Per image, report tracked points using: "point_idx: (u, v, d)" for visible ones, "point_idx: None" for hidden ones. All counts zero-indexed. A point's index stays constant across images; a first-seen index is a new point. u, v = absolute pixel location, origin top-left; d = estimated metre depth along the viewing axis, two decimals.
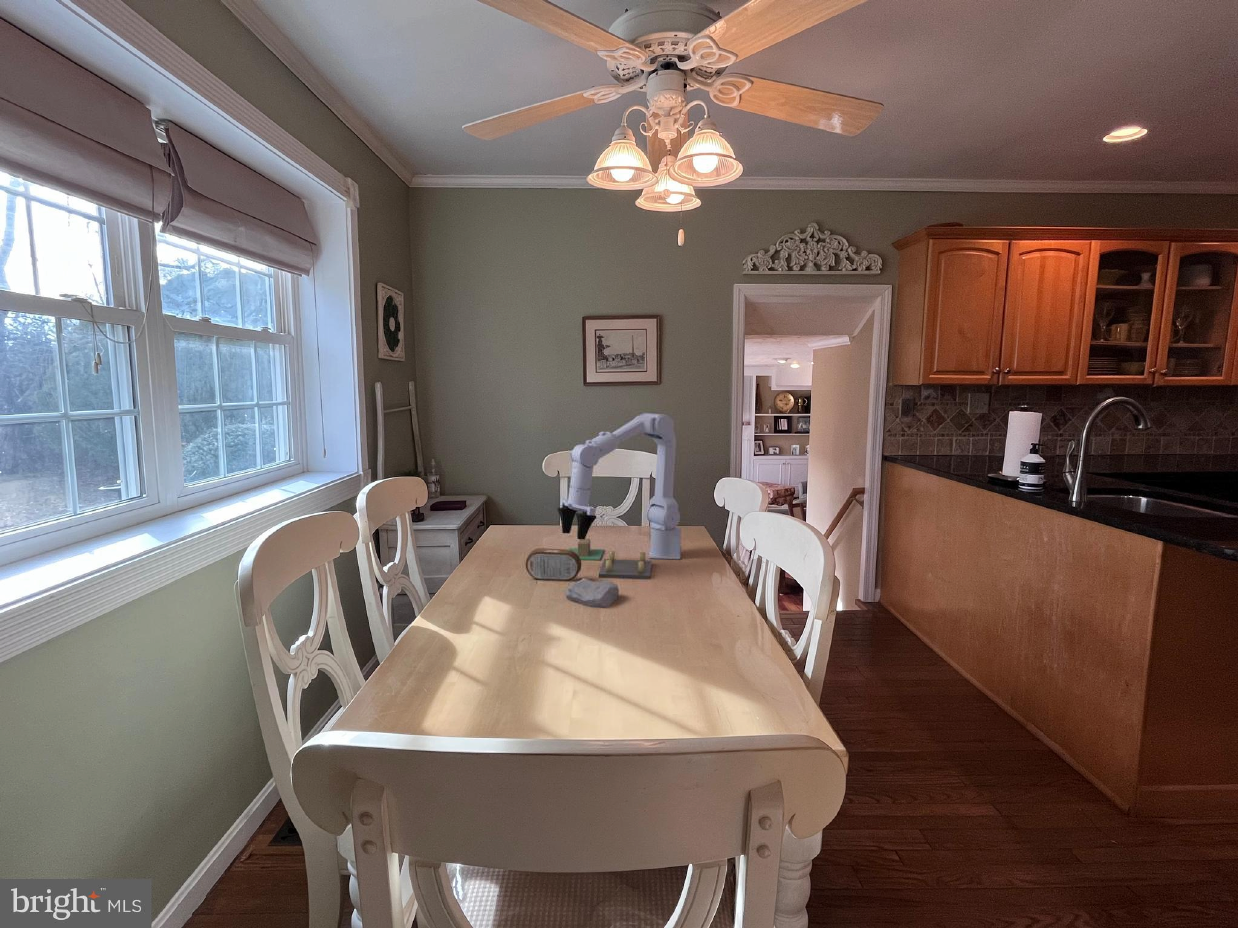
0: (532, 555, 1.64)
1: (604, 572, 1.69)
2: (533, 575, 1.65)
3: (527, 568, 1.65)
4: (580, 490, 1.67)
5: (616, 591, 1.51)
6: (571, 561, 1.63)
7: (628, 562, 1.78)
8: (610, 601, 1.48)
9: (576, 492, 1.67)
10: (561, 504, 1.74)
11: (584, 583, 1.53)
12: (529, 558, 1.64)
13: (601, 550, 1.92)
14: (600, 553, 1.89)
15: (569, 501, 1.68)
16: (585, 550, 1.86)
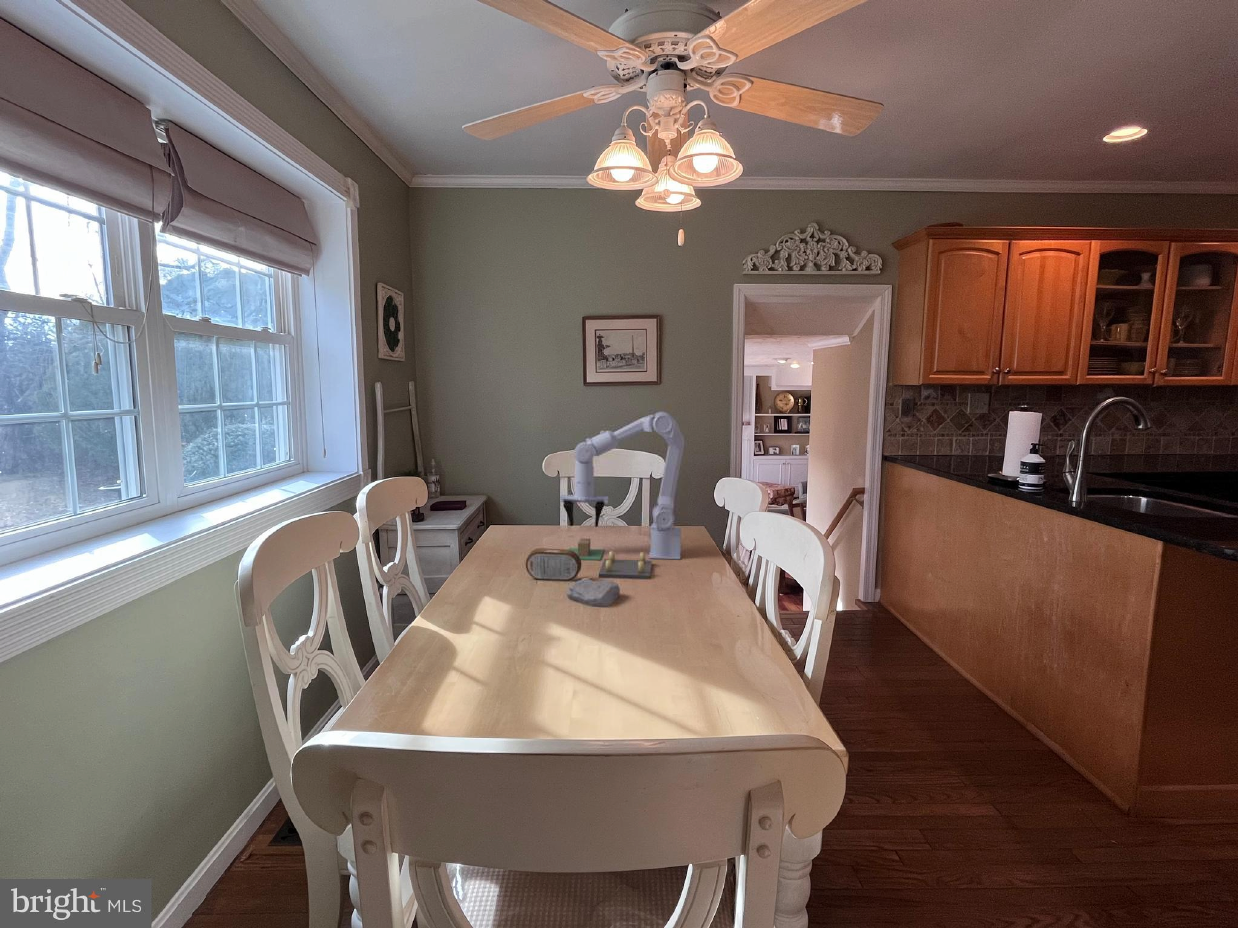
0: (532, 555, 1.64)
1: (604, 572, 1.69)
2: (533, 575, 1.65)
3: (527, 568, 1.65)
4: (591, 484, 1.84)
5: (617, 590, 1.51)
6: (571, 561, 1.63)
7: (628, 562, 1.78)
8: (611, 600, 1.49)
9: (588, 486, 1.84)
10: (562, 501, 1.86)
11: (585, 582, 1.54)
12: (529, 558, 1.64)
13: (601, 550, 1.92)
14: (600, 553, 1.89)
15: (582, 496, 1.83)
16: (585, 550, 1.86)
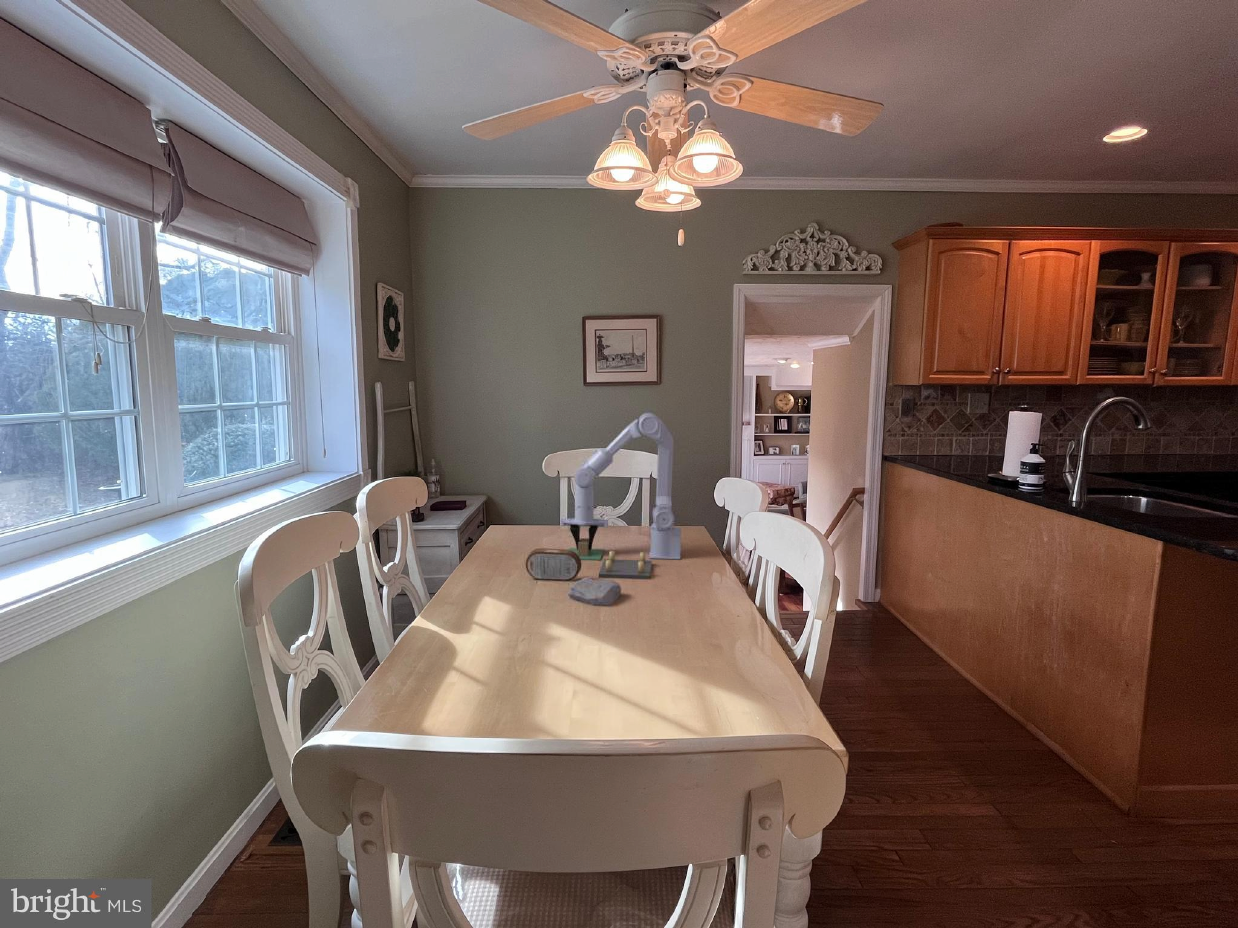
0: (532, 555, 1.64)
1: (604, 572, 1.69)
2: (533, 575, 1.65)
3: (527, 568, 1.65)
4: (591, 508, 1.85)
5: (618, 590, 1.52)
6: (571, 561, 1.63)
7: (628, 562, 1.78)
8: (612, 600, 1.49)
9: (588, 511, 1.85)
10: (562, 524, 1.87)
11: (586, 582, 1.54)
12: (529, 558, 1.64)
13: (601, 550, 1.92)
14: (600, 553, 1.89)
15: (582, 520, 1.84)
16: (585, 550, 1.86)
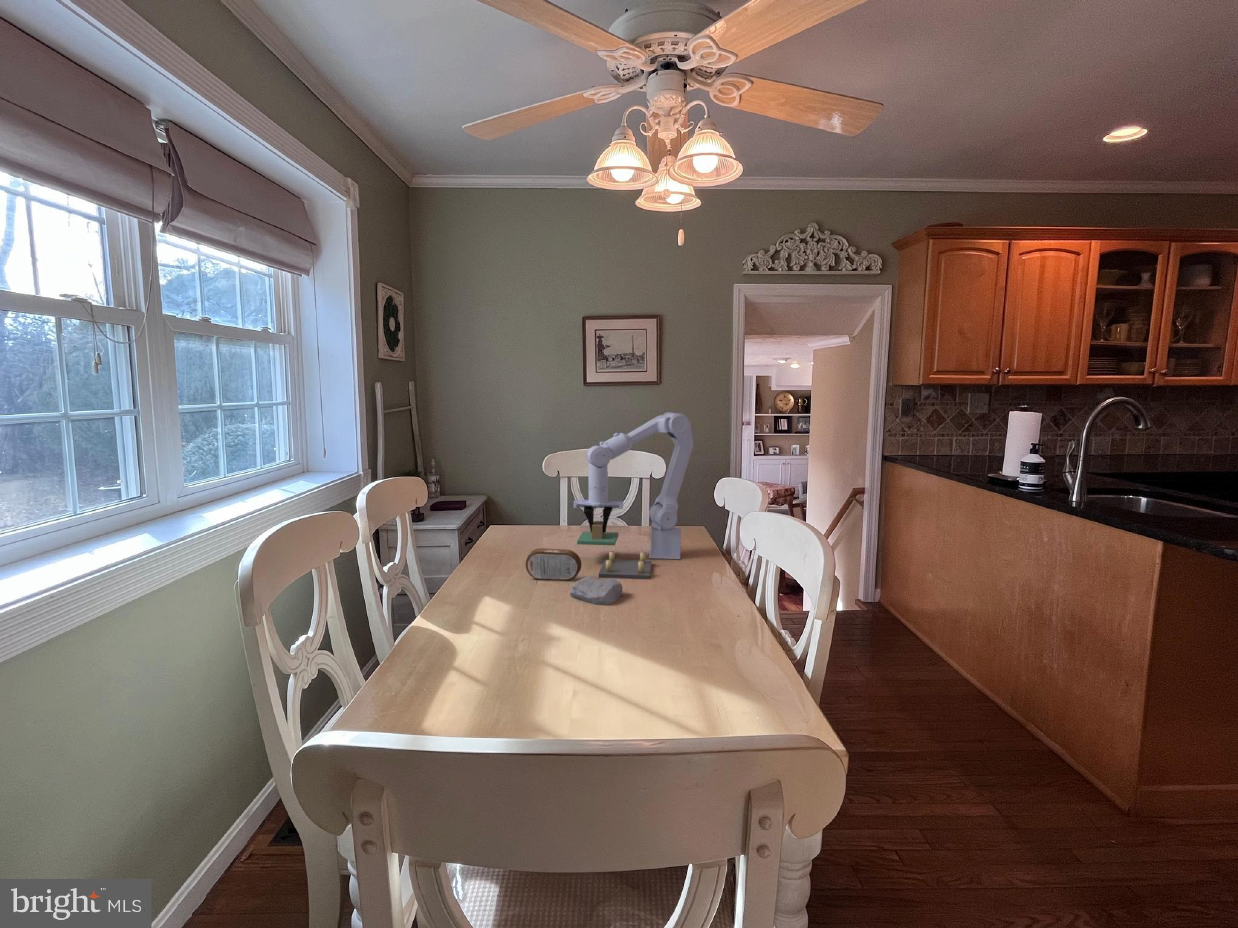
0: (532, 555, 1.64)
1: (604, 572, 1.69)
2: (533, 575, 1.65)
3: (527, 568, 1.65)
4: (605, 489, 1.79)
5: (620, 588, 1.52)
6: (571, 561, 1.63)
7: (628, 562, 1.78)
8: (614, 598, 1.50)
9: (603, 491, 1.78)
10: (575, 506, 1.81)
11: (588, 581, 1.55)
12: (529, 558, 1.64)
13: (615, 533, 1.86)
14: (615, 536, 1.83)
15: (596, 501, 1.78)
16: (599, 533, 1.80)
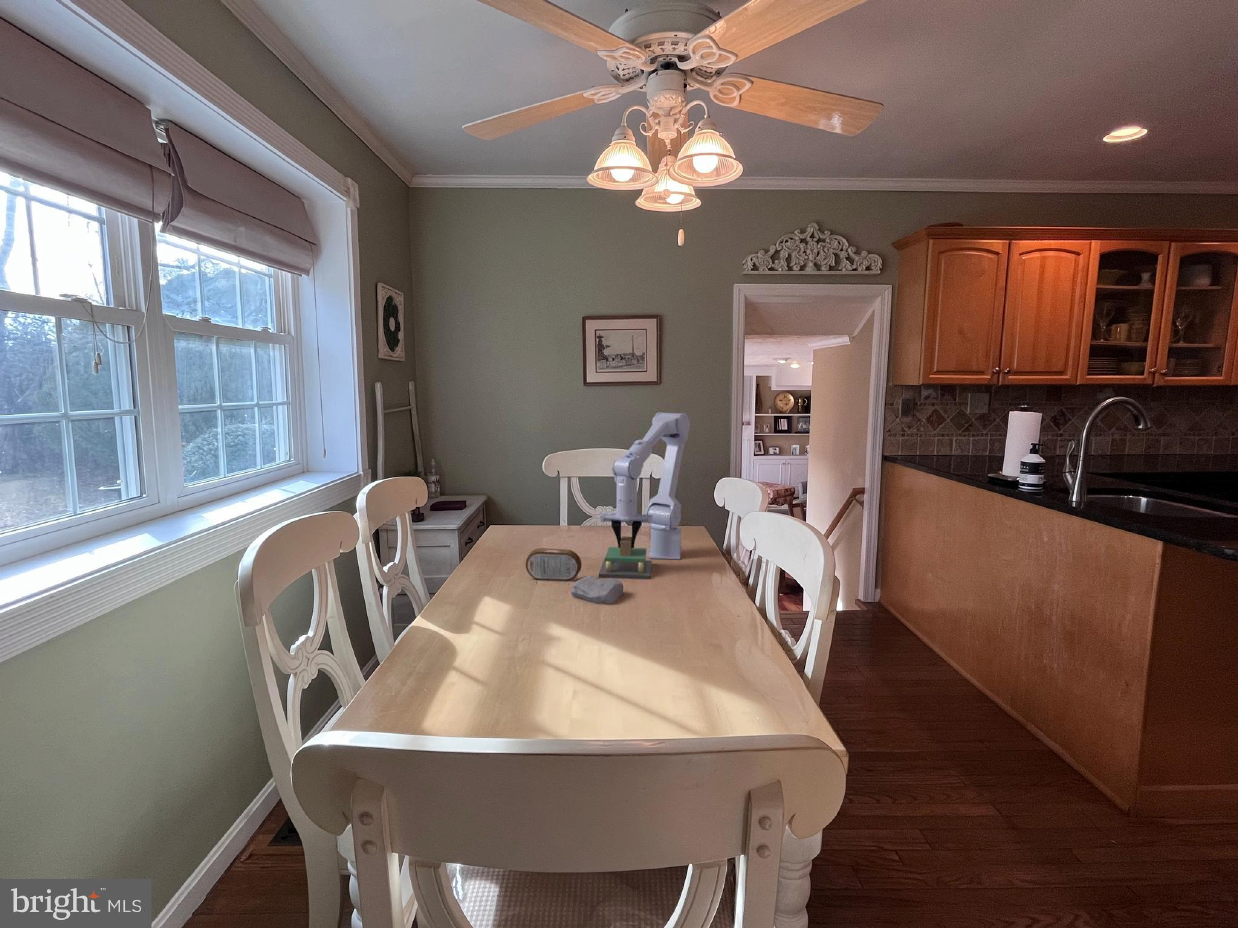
0: (532, 555, 1.64)
1: (604, 572, 1.69)
2: (533, 575, 1.65)
3: (527, 568, 1.65)
4: (635, 502, 1.69)
5: (621, 588, 1.53)
6: (571, 561, 1.63)
7: (628, 562, 1.78)
8: (615, 598, 1.50)
9: (632, 505, 1.69)
10: (602, 520, 1.71)
11: (589, 580, 1.55)
12: (529, 558, 1.64)
13: (644, 549, 1.77)
14: (643, 552, 1.74)
15: (625, 515, 1.69)
16: (628, 549, 1.70)
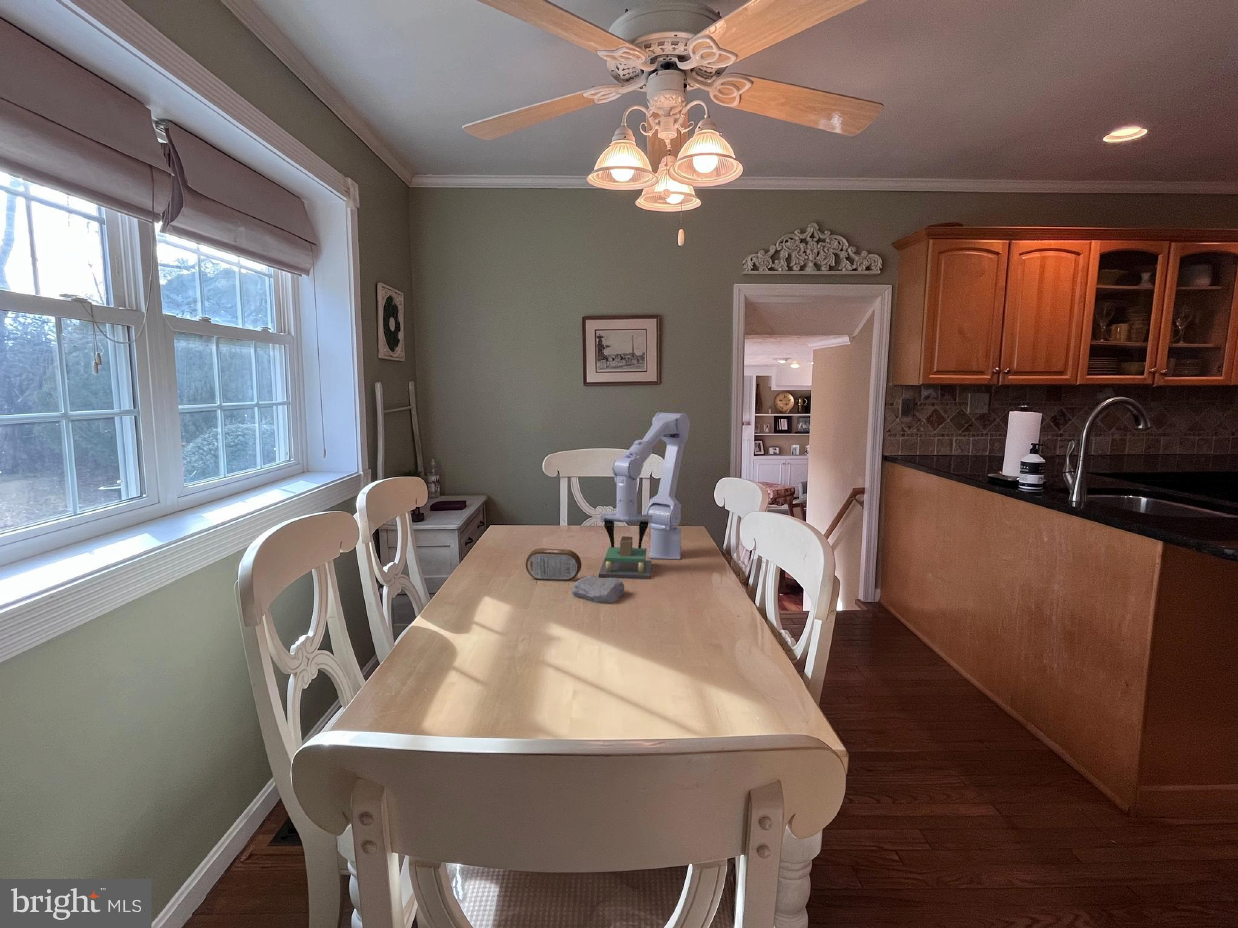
0: (532, 555, 1.64)
1: (604, 572, 1.69)
2: (533, 575, 1.65)
3: (527, 568, 1.65)
4: (635, 502, 1.69)
5: (622, 587, 1.53)
6: (571, 561, 1.63)
7: (628, 562, 1.78)
8: (616, 597, 1.51)
9: (632, 505, 1.69)
10: (602, 520, 1.71)
11: (590, 580, 1.56)
12: (529, 558, 1.64)
13: (644, 549, 1.77)
14: (643, 552, 1.74)
15: (625, 515, 1.69)
16: (628, 549, 1.70)
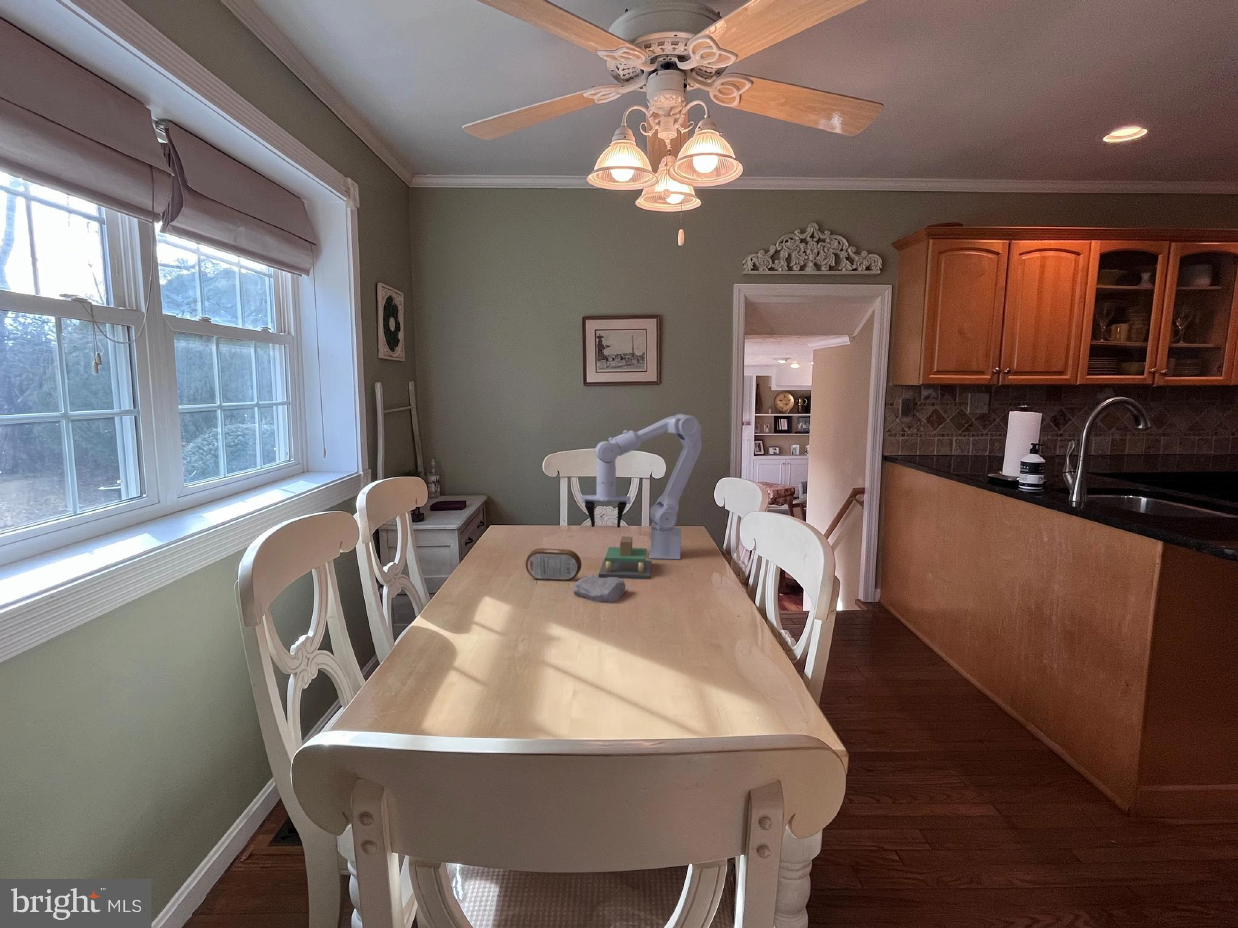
0: (532, 555, 1.64)
1: (604, 572, 1.69)
2: (533, 575, 1.65)
3: (527, 568, 1.65)
4: (613, 484, 1.80)
5: (623, 587, 1.54)
6: (571, 561, 1.63)
7: (628, 562, 1.78)
8: (617, 596, 1.51)
9: (611, 487, 1.80)
10: (583, 501, 1.82)
11: (591, 579, 1.56)
12: (529, 558, 1.64)
13: (644, 549, 1.77)
14: (643, 552, 1.74)
15: (604, 496, 1.80)
16: (628, 549, 1.70)
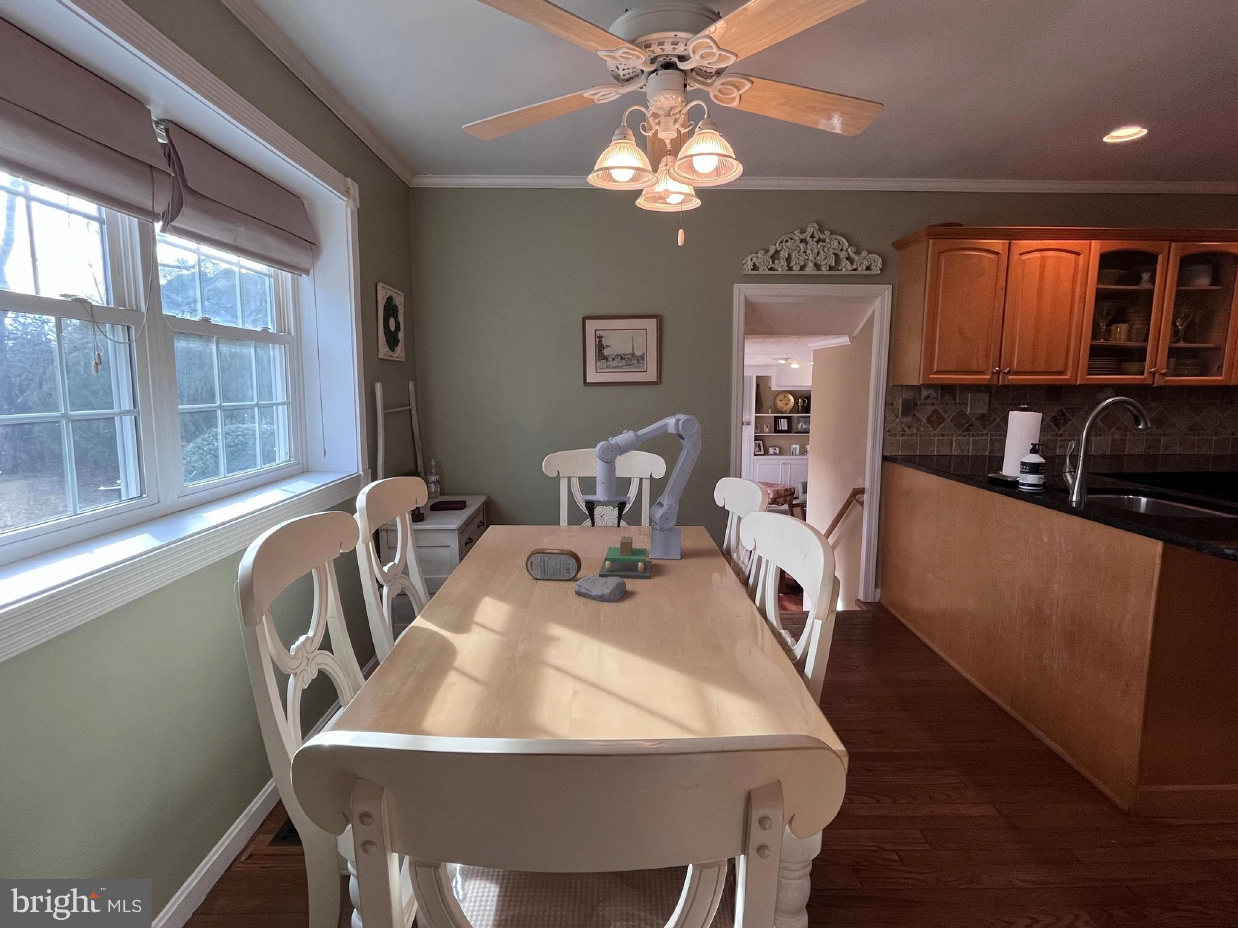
0: (532, 555, 1.64)
1: (604, 572, 1.69)
2: (533, 575, 1.65)
3: (527, 568, 1.65)
4: (613, 484, 1.80)
5: (623, 586, 1.54)
6: (571, 561, 1.63)
7: (628, 562, 1.78)
8: (618, 596, 1.52)
9: (611, 487, 1.80)
10: (583, 501, 1.82)
11: (592, 578, 1.57)
12: (529, 558, 1.64)
13: (644, 549, 1.77)
14: (643, 552, 1.74)
15: (604, 496, 1.80)
16: (628, 549, 1.70)
